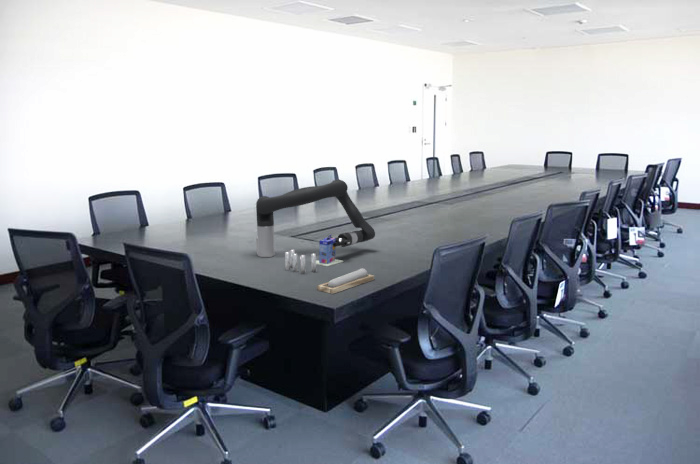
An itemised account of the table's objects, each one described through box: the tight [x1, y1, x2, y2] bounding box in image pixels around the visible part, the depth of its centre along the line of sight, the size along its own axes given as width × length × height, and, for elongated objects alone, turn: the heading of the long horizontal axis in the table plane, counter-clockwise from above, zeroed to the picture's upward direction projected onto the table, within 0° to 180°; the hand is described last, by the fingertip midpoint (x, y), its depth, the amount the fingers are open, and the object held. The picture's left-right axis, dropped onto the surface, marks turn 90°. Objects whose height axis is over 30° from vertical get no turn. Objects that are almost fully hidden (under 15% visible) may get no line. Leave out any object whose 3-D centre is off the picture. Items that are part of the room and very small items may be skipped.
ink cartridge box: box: [318, 234, 337, 264], centre depth 291 cm, size 10×6×14 cm, turn 157°
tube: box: [328, 267, 368, 288], centre depth 251 cm, size 5×5×25 cm
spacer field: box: [284, 248, 317, 275], centre depth 276 cm, size 17×8×9 cm, turn 50°
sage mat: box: [316, 258, 344, 267], centre depth 292 cm, size 12×13×1 cm
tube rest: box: [316, 274, 375, 295], centre depth 251 cm, size 9×29×2 cm, turn 140°
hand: (327, 243), depth 291 cm, fingers open, 8 cm apart
